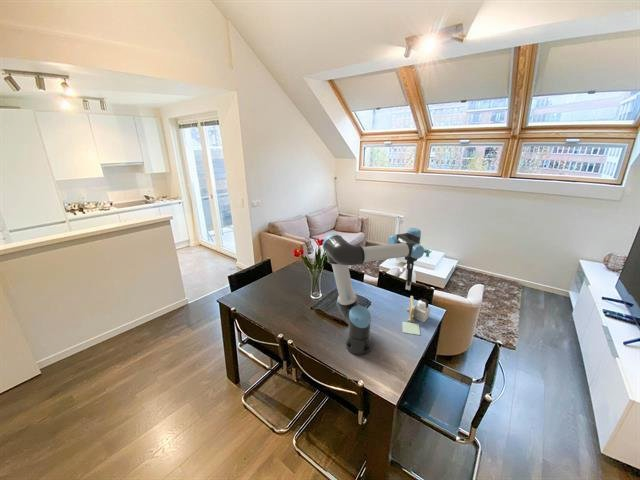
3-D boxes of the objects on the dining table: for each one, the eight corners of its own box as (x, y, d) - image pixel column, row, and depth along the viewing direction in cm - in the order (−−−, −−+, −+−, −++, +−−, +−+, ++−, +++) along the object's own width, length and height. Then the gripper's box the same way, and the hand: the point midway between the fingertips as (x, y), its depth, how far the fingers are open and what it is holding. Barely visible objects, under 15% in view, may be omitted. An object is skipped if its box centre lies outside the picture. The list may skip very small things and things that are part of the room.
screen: (407, 322, 171) (409, 307, 167) (407, 309, 184) (408, 295, 180) (414, 322, 170) (416, 308, 166) (413, 309, 183) (415, 296, 179)
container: (418, 312, 181) (420, 295, 176) (429, 317, 175) (431, 300, 171) (412, 317, 176) (414, 300, 171) (423, 322, 170) (426, 305, 166)
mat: (402, 332, 162) (402, 332, 162) (402, 322, 171) (402, 321, 171) (420, 335, 160) (420, 334, 160) (418, 324, 169) (418, 324, 169)
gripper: (419, 263, 147) (414, 295, 155) (417, 246, 170) (413, 275, 178) (405, 261, 149) (401, 293, 157) (404, 244, 172) (401, 273, 180)
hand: (407, 283), depth 167 cm, fingers open, 13 cm apart
